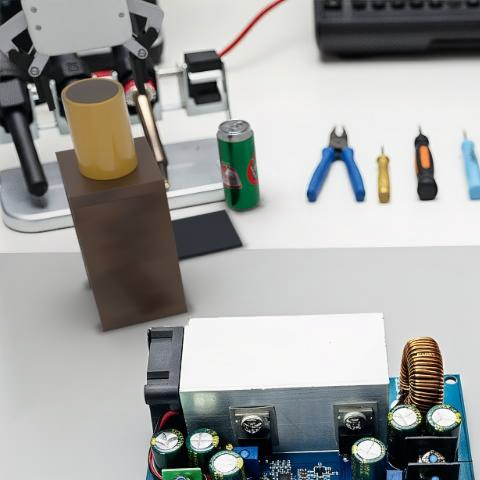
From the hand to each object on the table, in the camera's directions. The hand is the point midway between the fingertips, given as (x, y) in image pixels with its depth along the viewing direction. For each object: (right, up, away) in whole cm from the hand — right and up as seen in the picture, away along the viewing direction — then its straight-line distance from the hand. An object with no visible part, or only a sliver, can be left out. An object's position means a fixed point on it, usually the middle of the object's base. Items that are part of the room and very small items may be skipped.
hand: (96, 97), depth 107 cm
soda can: (+10, -5, +35) cm, 37 cm away
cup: (0, -6, +6) cm, 8 cm away
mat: (+6, -10, +29) cm, 31 cm away
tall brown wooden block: (-1, -20, +19) cm, 27 cm away
